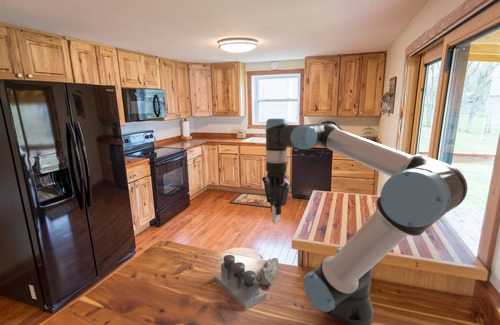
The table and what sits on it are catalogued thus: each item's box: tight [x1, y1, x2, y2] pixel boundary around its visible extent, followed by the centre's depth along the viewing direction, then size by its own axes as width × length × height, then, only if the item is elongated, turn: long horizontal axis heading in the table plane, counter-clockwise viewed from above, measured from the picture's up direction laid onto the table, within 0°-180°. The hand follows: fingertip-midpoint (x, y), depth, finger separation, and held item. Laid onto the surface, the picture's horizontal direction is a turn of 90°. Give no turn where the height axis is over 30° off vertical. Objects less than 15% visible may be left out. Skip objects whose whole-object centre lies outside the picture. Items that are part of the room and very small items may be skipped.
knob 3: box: [244, 270, 257, 286], centre depth 99 cm, size 5×5×10 cm
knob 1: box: [223, 254, 236, 268], centre depth 110 cm, size 5×5×10 cm
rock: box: [256, 257, 279, 287], centre depth 113 cm, size 16×7×7 cm, turn 160°
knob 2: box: [233, 261, 246, 276], centre depth 104 cm, size 5×5×10 cm
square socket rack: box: [214, 262, 267, 311], centre depth 105 cm, size 22×10×7 cm, turn 38°
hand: (275, 221), depth 100 cm, fingers closed
